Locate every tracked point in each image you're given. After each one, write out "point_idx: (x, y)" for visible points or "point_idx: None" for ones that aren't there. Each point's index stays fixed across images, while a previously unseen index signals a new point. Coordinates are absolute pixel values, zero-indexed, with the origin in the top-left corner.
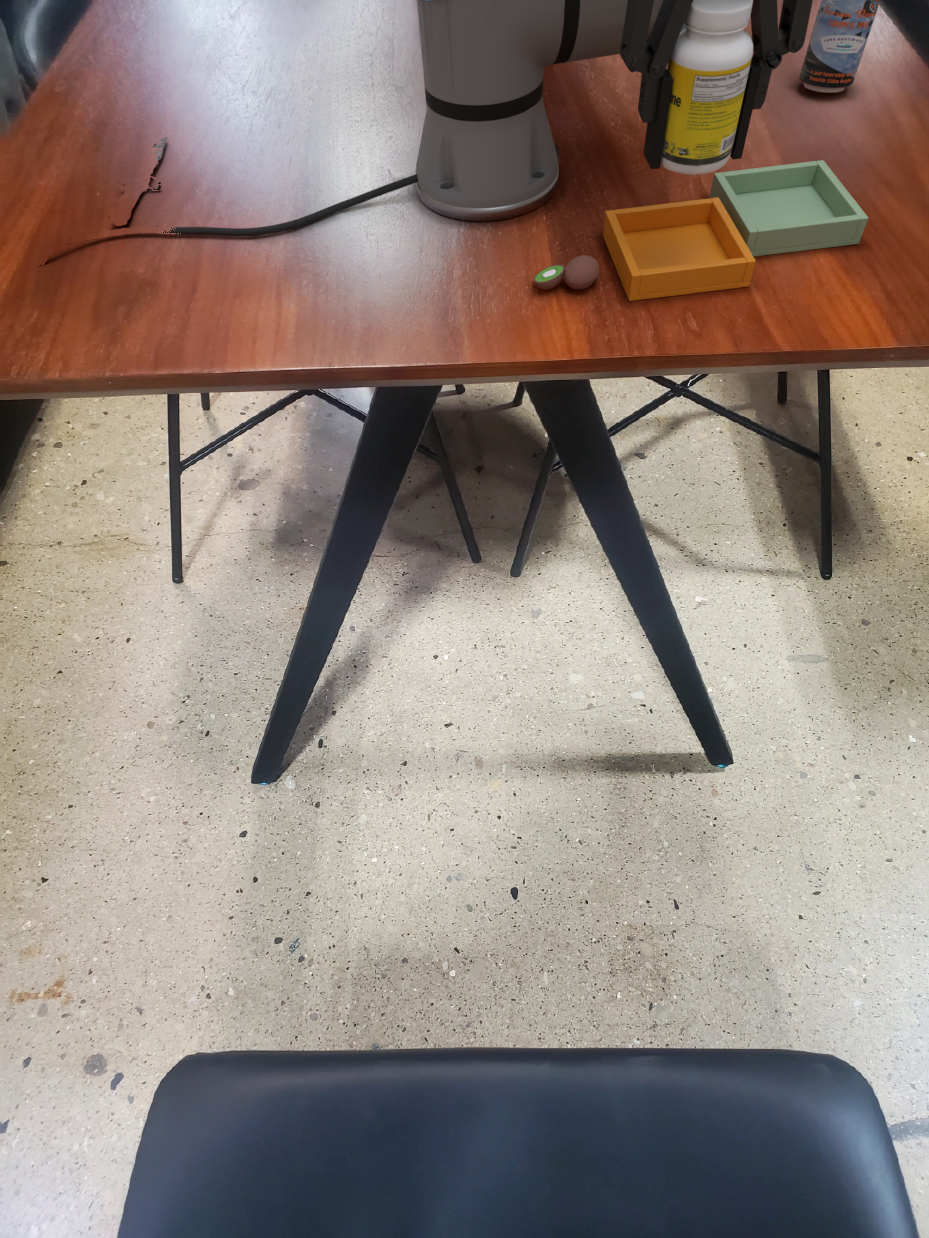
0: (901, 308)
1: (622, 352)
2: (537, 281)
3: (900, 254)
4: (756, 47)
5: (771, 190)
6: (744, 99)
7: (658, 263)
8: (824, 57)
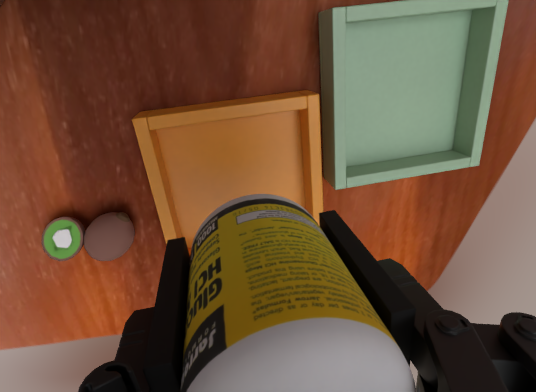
0: (436, 259)
1: None
2: (48, 252)
3: (483, 176)
4: (428, 354)
5: (412, 17)
6: None
7: (216, 198)
8: None
